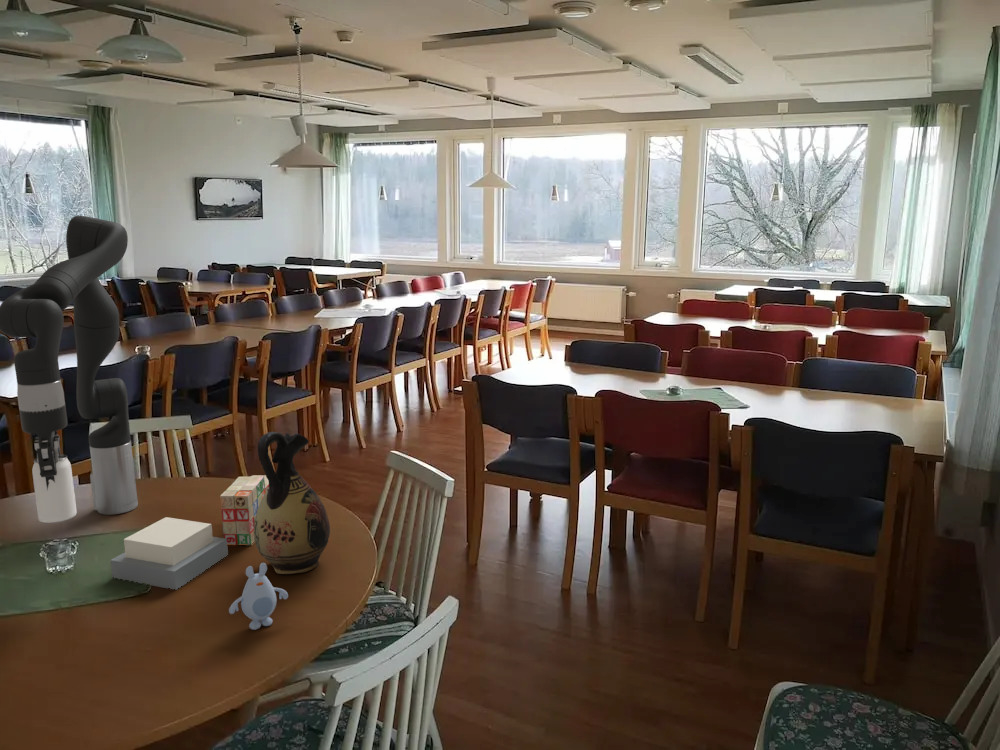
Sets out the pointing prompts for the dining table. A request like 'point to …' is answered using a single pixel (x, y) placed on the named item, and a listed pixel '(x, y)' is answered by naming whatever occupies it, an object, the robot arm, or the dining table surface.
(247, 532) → the stack of blocks
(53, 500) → the can
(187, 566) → the tower base
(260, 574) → the toy figure
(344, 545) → the dining table surface
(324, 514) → the ceramic jug
